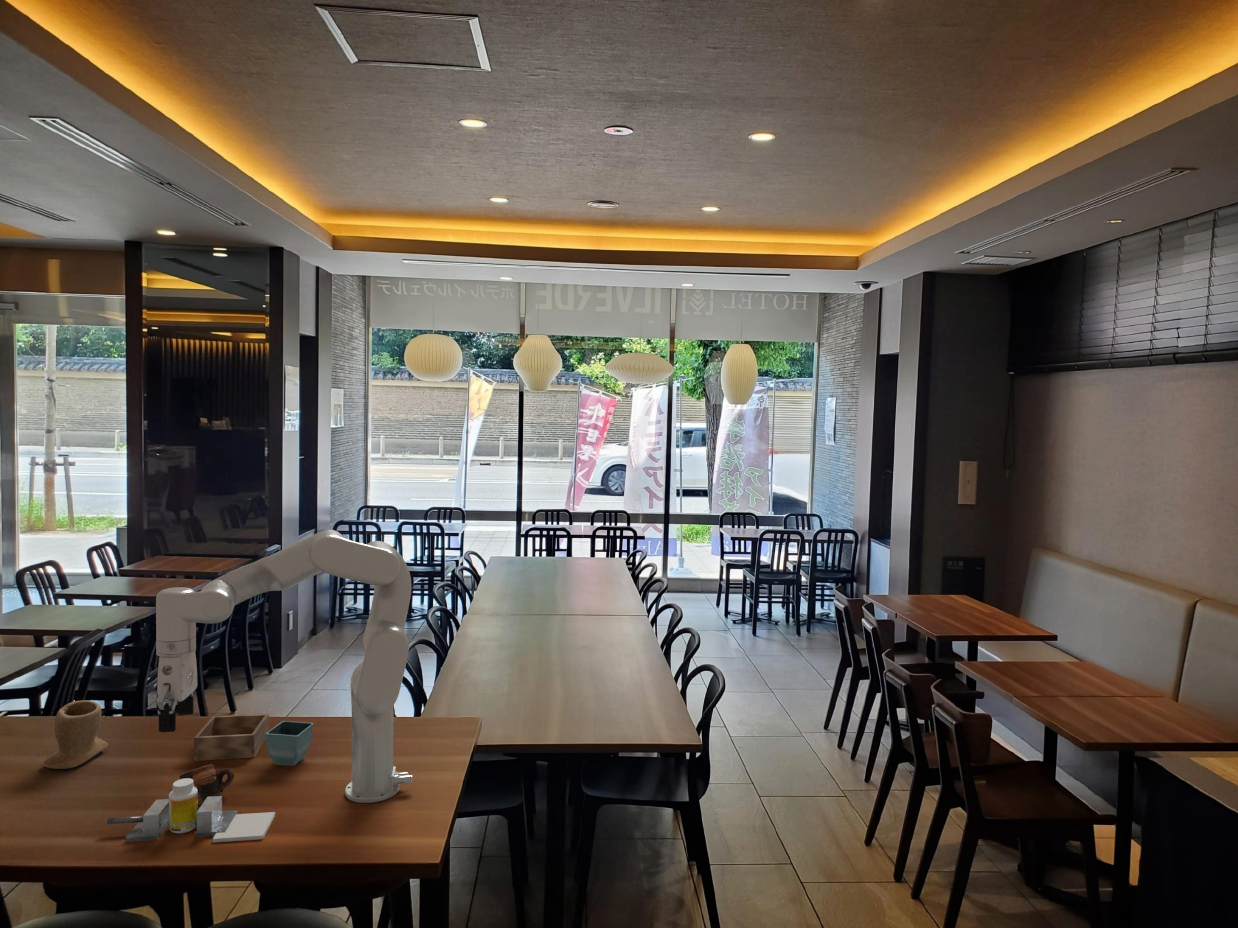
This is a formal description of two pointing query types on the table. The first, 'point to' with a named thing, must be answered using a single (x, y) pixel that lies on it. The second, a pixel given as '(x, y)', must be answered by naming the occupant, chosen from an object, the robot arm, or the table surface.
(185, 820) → the supplement bottle
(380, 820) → the table surface
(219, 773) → the pottery mug
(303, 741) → the flower pot
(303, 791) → the table surface
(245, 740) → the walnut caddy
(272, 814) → the white coaster
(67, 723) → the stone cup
